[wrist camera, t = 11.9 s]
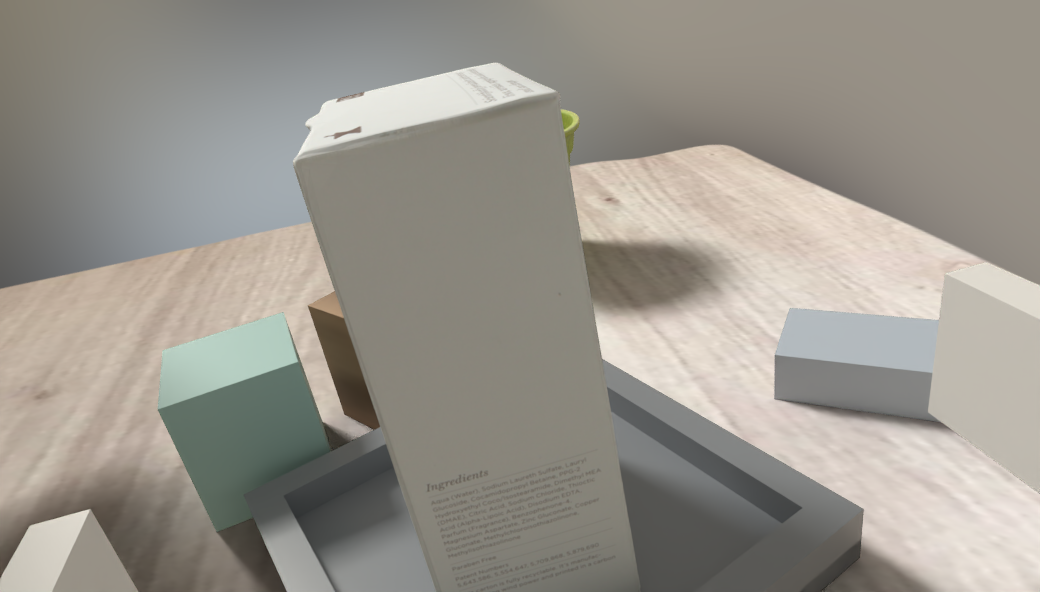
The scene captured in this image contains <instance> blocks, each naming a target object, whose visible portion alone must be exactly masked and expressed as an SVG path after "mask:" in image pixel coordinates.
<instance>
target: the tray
mask: <svg viewBox="0 0 1040 592" xmlns="http://www.w3.org/2000/svg"><path fill="white" fill-rule="evenodd" d="M602 362H603V368H604V374H605V379H606V385H607V391H608V397H609V402H610V408H611V414H612V420H613V427H614V433H615V439H616V446H617V452H618V459H619V465H620V471H621V477H622V482H623V489H624V495H625V500H626V506H627V512H628V518H629V523H630V528H631V534H632V540H633V546H634V551H635V558H636V564H637V570H638V575H639V581H640V586H641V588H640V591H641V592H820V591H822V590H823V589H824V588H825V587H826V586H827V585H828V584H830V583H831V582H832V581H833V580H834V579H835V578H837V577H838V576H839V575H840V574H841V573H842V572H843V571H845V570H846V569H847V568H848V567H849V566H850V565H851V564H853V563H854V562H855V561H856V560H857V559H858V558H860V549H861V536H862V524H863V511H864V509H862V508H861V507H859V506H857V505H856V504H854V503H852V502H850V501H849V500H847V499H845V498H843V497H842V496H840V495H838V494H836V493H835V492H833V491H831V490H829V489H828V488H826V487H824V486H822V485H821V484H819V483H817V482H816V481H814V480H812V479H810V478H809V477H807V476H805V475H803V474H802V473H800V472H798V471H796V470H795V469H793V468H791V467H789V466H788V465H786V464H784V463H782V462H781V461H779V460H777V459H775V458H774V457H772V456H770V455H769V454H767V453H765V452H763V451H762V450H760V449H758V448H756V447H755V446H753V445H751V444H749V443H748V442H746V441H744V440H742V439H741V438H739V437H737V436H735V435H734V434H732V433H730V432H728V431H727V430H725V429H723V428H722V427H720V426H718V425H716V424H715V423H713V422H711V421H709V420H708V419H706V418H704V417H702V416H701V415H699V414H697V413H695V412H694V411H692V410H690V409H688V408H687V407H685V406H683V405H681V404H680V403H678V402H676V401H675V400H673V399H671V398H669V397H668V396H666V395H664V394H662V393H661V392H659V391H657V390H655V389H654V388H652V387H650V386H648V385H647V384H645V383H643V382H641V381H640V380H638V379H636V378H634V377H633V376H631V375H629V374H628V373H626V372H624V371H622V370H621V369H619V368H617V367H615V366H614V365H612V364H610V363H608V362H607V361H605V360H603V359H602ZM243 495H244V498H245V500H246V502H247V504H248V507H249V509H250V511H251V513H252V516H253V518H254V520H255V523H256V525H257V527H258V529H259V532H260V534H261V536H262V538H263V540H264V543H265V545H266V547H267V549H268V552H269V554H270V556H271V558H272V560H273V563H274V565H275V567H276V569H277V571H278V574H279V576H280V578H281V580H282V583H283V585H284V587H285V589H286V591H287V592H436V590H435V587H434V584H433V581H432V578H431V575H430V572H429V569H428V566H427V563H426V561H425V558H424V555H423V552H422V549H421V546H420V543H419V539H418V536H417V533H416V531H415V528H414V525H413V523H412V520H411V517H410V514H409V511H408V508H407V505H406V502H405V499H404V496H403V493H402V490H401V487H400V484H399V481H398V478H397V475H396V472H395V469H394V466H393V463H392V460H391V457H390V454H389V451H388V448H387V445H386V442H385V439H384V436H383V433H382V430H381V427H379V428H377V429H375V430H373V431H371V432H369V433H367V434H365V435H363V436H361V437H359V438H357V439H355V440H353V441H351V442H349V443H347V444H345V445H343V446H341V447H339V448H337V449H335V450H333V451H331V452H329V453H327V454H325V455H323V456H321V457H318V458H316V459H314V460H312V461H310V462H308V463H306V464H304V465H302V466H300V467H298V468H296V469H294V470H292V471H290V472H288V473H286V474H284V475H282V476H280V477H278V478H276V479H274V480H272V481H270V482H268V483H266V484H264V485H262V486H260V487H258V488H256V489H254V490H252V491H250V492H248V493H246V494H243Z"/></svg>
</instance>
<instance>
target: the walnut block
mask: <svg viewBox="0 0 1040 592" xmlns="http://www.w3.org/2000/svg"><path fill="white" fill-rule="evenodd" d="M308 308H309V310H310V313H311V316H312V319H313V322H314V325H315V328H316V331H317V334H318V337H319V340H320V343H321V346H322V349H323V352H324V355H325V358H326V361H327V364H328V367H329V370H330V373H331V376H332V379H333V382H334V384H335V387H336V390H337V393H338V396H339V399H340V402H341V405H342V408H343V411H344V414H345V415H347V416H349V417H351V418H353V419H355V420H357V421H359V422H361V423H363V424H365V425H366V426H368V427H370V428H372V429H374V430H375V429H377V428H379V427H380V424H379V421H378V418H377V415H376V412H375V409H374V406H373V403H372V400H371V397H370V394H369V391H368V388H367V385H366V382H365V379H364V376H363V373H362V370H361V367H360V364H359V361H358V358H357V355H356V352H355V349H354V346H353V343H352V340H351V338H350V335H349V332H348V329H347V326H346V323H345V320H344V317H343V314H342V311H341V308H340V305H339V302H338V299H337V296H336V293H335V291H334V292H333V293H331V294H329V295H327V296H325V297H323V298H321V299H319V300H317V301H315V302H314V303H312V304H310V305H308Z"/></svg>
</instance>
